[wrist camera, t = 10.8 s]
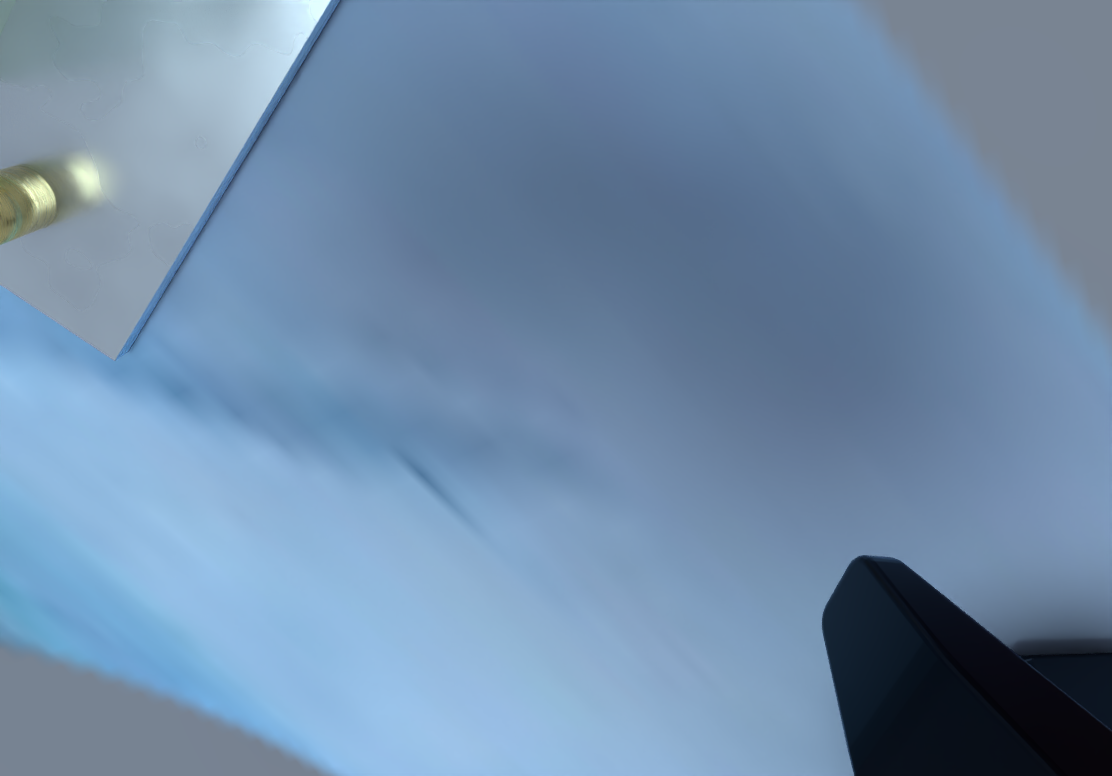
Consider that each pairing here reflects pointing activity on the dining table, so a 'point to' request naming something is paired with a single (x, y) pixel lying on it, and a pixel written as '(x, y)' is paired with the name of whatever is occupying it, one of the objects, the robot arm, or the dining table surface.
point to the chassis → (129, 142)
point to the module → (5, 12)
